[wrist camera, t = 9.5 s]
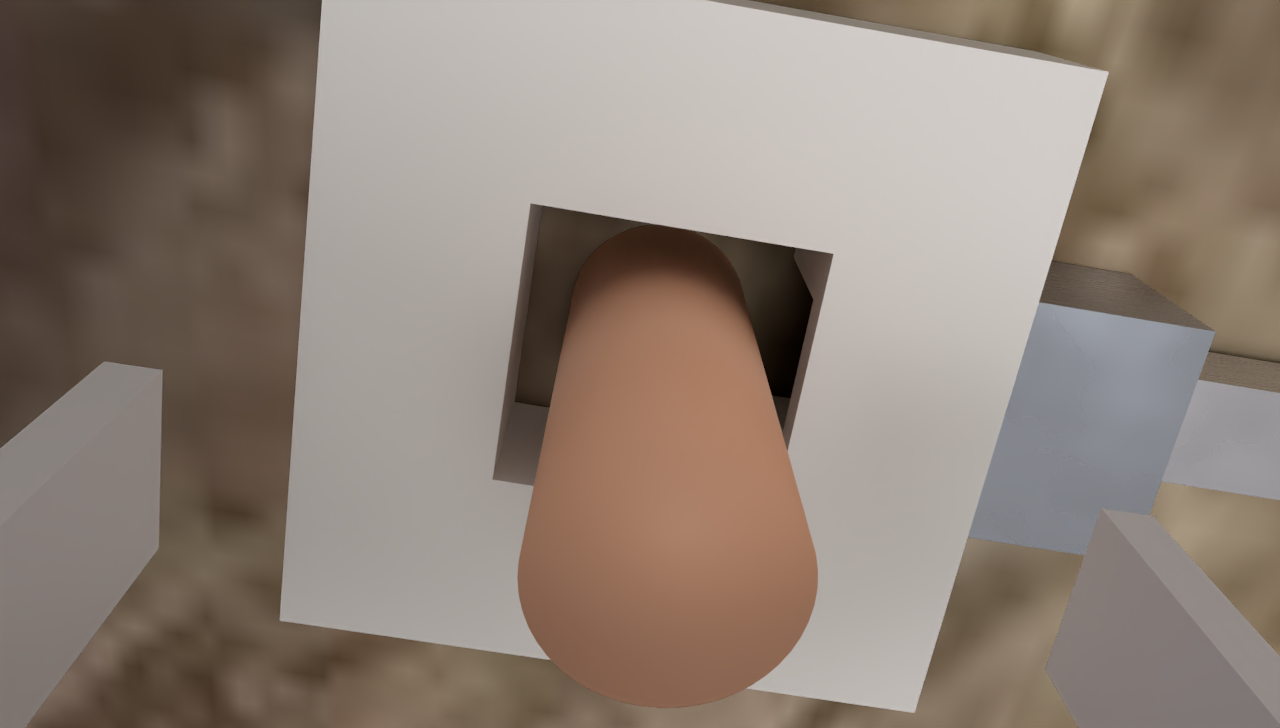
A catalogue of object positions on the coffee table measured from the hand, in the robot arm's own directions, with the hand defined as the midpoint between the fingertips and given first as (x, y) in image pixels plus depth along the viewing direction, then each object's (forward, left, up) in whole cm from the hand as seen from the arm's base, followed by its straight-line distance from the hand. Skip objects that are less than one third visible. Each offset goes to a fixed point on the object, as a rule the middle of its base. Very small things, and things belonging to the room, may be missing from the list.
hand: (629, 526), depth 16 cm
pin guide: (+9, 0, -11) cm, 14 cm away
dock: (0, 0, -11) cm, 11 cm away
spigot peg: (+1, 0, -11) cm, 11 cm away
